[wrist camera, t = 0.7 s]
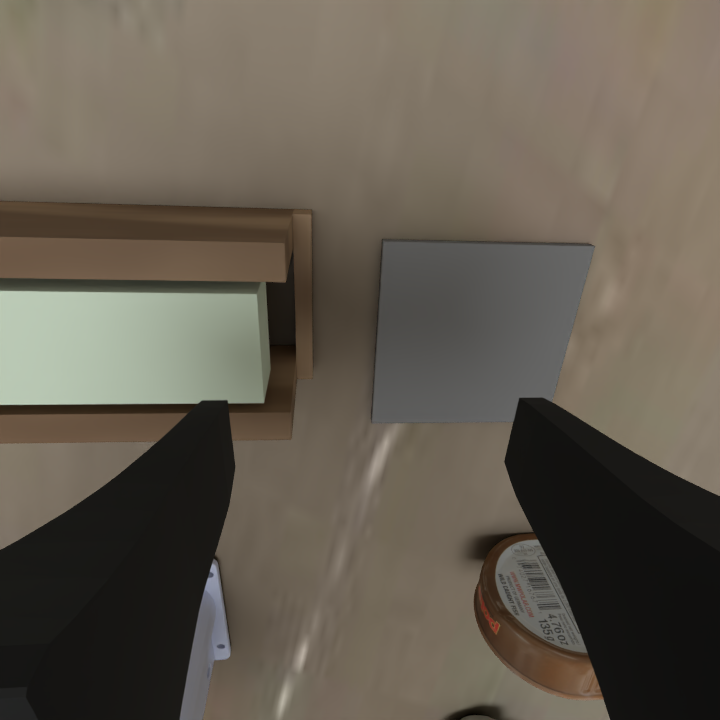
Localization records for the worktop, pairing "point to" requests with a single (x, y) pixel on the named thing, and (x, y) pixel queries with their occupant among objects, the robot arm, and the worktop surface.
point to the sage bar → (132, 341)
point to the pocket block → (161, 262)
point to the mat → (472, 327)
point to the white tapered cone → (477, 717)
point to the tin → (532, 620)
